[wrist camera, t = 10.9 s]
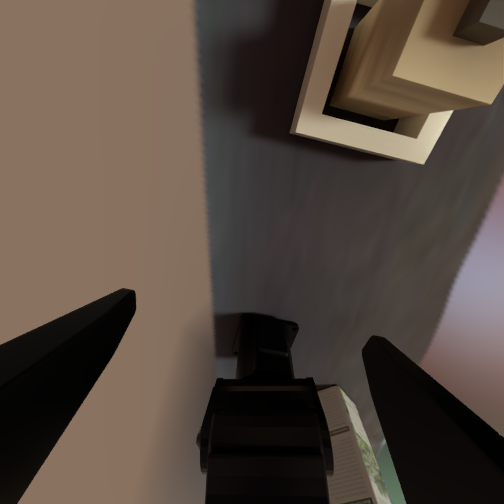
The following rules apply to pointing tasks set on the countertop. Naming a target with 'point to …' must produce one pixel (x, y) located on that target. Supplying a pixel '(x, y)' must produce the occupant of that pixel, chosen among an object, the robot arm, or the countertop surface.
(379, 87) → the wooden peg
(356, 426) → the syrup box
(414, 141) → the cream square ring
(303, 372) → the countertop surface
